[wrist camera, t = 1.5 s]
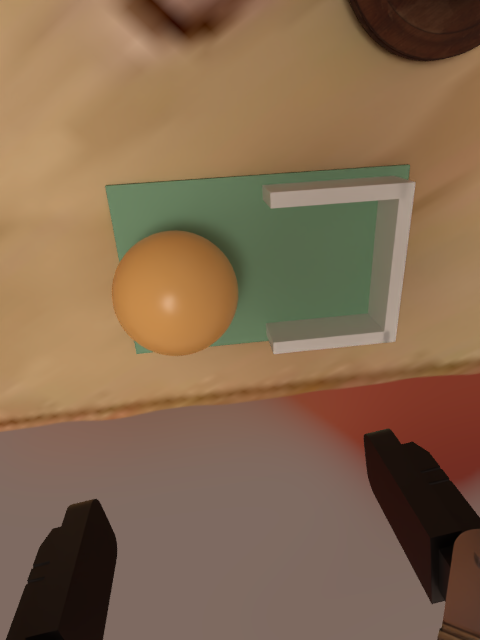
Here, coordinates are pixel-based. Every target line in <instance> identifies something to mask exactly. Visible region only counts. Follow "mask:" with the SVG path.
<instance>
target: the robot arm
mask: <svg viewBox="0 0 480 640" xmlns="http://www.w3.org/2000/svg"><path fill="white" fill-rule="evenodd" d="M364 447H365V457H366V466H367V474H368V479H369V482H370V485H371V488H372V491H373V493H374V495H375V497H376V499H377V501H378V503H379V504H380V506H381V508H382V510H383V512H384V514H385V516H386V518H387V519H388V521H389V524H390V525H391V527H392V529H393V531H394V533H395V535H396V537H397V539H398V541H399V543H400V544H401V546H402V548H403V550H404V552H405V554H406V556H407V558H408V559H409V561H410V563H411V565H412V567H413V569H414V571H415V573H416V575H417V577H418V579H419V580H420V582H421V584H422V586H423V588H424V590H425V592H426V594H427V596H428V597H429V599H430V601H431V603H432V604H433V603H438V602H442V601H445V602H446V603H445V610H444V617H443V623H442V628H441V629H440V630H439V634H438V640H480V517H479V516H478V515H477V514H476V512H475V511H474V510H473V509H472V507H471V506H470V505H469V503H468V502H467V501H466V500H465V498H464V497H463V496H462V494H461V493H460V492H459V490H458V489H457V488H456V486H455V485H454V484H453V483H452V482H451V481H450V480H449V477H448V476H447V475H446V474H445V472H444V471H443V470H442V469H440V466H439V465H438V463H437V462H436V461H435V459H434V458H433V457H432V455H430V453H429V452H428V451H426V450H425V449H423V448H422V447H420V446H418V445H417V444H415V443H414V442H410V443H406V444H401V443H400V442H399V440H398V439H397V437H396V436H395V435H394V433H393V432H392V431H391V430H390V429H384V430H380V431H376V432H372V433H368V434H365V435H364ZM116 559H117V542H116V537H115V534H114V532H113V529H112V527H111V525H110V523H109V521H108V519H107V517H106V514H105V512H104V510H103V508H102V506H101V504H100V502H99V501H98V500H97V499H93V500H89V501H85V502H80V503H77V504H72V505H70V506H69V507H68V508H67V511H66V514H65V517H64V520H63V523H62V526H61V527H58V528H54V529H52V531H51V532H50V533H49V535H48V537H46V539H45V540H44V542H43V543H42V544H41V546H40V548H39V550H38V553H37V556H36V559H35V561H34V564H33V569H31V572H30V575H29V578H28V580H27V581H28V584H27V585H26V586H25V589H24V591H23V594H22V597H21V600H20V602H19V605H18V608H17V611H16V613H15V616H14V619H13V621H12V624H11V627H10V630H9V633H8V635H7V638H6V640H103V635H104V629H105V624H106V617H107V611H108V605H109V599H110V594H111V588H112V583H113V577H114V571H115V565H116Z"/></svg>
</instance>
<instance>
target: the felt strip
mask: <svg viewBox="0 0 480 640" xmlns="http://www.w3.org/2000/svg"><path fill="white" fill-rule="evenodd" d="M409 170H410V165H408V164H407V165H392V166H378V167H364V168H349V169H335V170H320V171H306V172H292V173H277V174H263V175H248V176H234V177H220V178H205V179H191V180H176V181H162V182H148V183H133V184H119V185H106V186H105V187H106V193H107V198H108V203H109V209H110V214H111V219H112V225H113V230H114V236H115V241H116V246H117V252H118V257H119V262H120V261H121V260H122V258H123V257H124V255H125V254H126V253H127V252H128V250H129V249H130V248H131V247H132V246H134V245H135V244H136V243H137V242H139V241H140V240H142V239H144V238H146V237H148V236H150V235H152V234H155V233H159V232H163V231H174V230H178V231H186V232H190V233H194V234H197V235H199V236H202V237H204V238H205V239H207V240H209V241H210V242H212V243H213V244H214V245H216V246H217V247H218V248H219V249H220V250H221V251H222V252H223V253H224V254H225V256H226V257H227V258H228V260H229V262H230V263H231V265H232V267H233V270H234V272H235V275H236V279H237V284H238V304H237V309H236V312H235V315H234V318H233V320H232V322H231V324H230V325H229V327H228V329H227V330H226V331H225V333H224V334H223V335H222V336H221V337H220V338H219V339H218V340H217V341H216V342H214V343H213V344H212V345H210V346H220V345H230V344H240V343H250V342H260V341H269V340H268V337H267V334H266V323H274V322H284V321H294V320H305V319H315V318H325V317H336V316H346V315H356V314H367V313H368V305H369V294H370V283H371V272H372V261H373V250H374V239H375V228H376V217H377V206H378V200H377V201H364V202H350V203H337V204H324V205H311V206H298V207H285V208H270V207H269V206H268V205H267V204H266V203H265V202H264V200H263V196H262V185H270V184H284V183H298V182H312V181H326V180H340V179H354V178H368V177H382V176H396V177H400V178H403V179H407V180H408V178H409ZM134 343H135V348H136V354H140V353H150V352H153V351H150V350H148V349H146V348H144V347H143V346H141V345H140V344H138V343H137V342H136V341H134ZM210 346H209V347H210Z"/></svg>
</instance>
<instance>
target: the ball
mask: <svg viewBox="0 0 480 640" xmlns="http://www.w3.org/2000/svg"><path fill="white" fill-rule="evenodd" d="M112 300H113V307H114V310H115V314H116V316H117V318H118V320H119V322H120V324H121V326H122V327H123V329H124V330H125V331H126V333H127V334H128V335H129V336H130V337H131V338H132V339H133V340H134V341H136V342H137V343H138V344H140V345H141V346H143V347H144V348H146V349H148V350H150V351H153V352H155V353H159V354H163V355H170V356H182V355H189V354H193V353H196V352H199V351H201V350H203V349H205V348H207V347H209V346H210V345H212V344H213V343H214V342H216V341H217V340H218V339H219V338H220V337H221V336H222V335H223V334H224V333H225V331H226V330H227V329H228V327H229V325H230V324H231V322H232V320H233V318H234V315H235V312H236V309H237V304H238V284H237V279H236V275H235V272H234V270H233V267H232V265H231V263H230V262H229V260H228V258H227V257H226V256H225V254H224V253H223V252H222V251H221V250H220V249H219V248H218V247H217V246H216V245H214V244H213V243H212V242H210V241H209V240H207V239H205V238H204V237H202V236H199V235H197V234H194V233H190V232H186V231H178V230H174V231H163V232H159V233H155V234H152V235H150V236H148V237H146V238H144V239H142V240H140V241H139V242H137V243H136V244H135V245H134V246H132V247H131V248H130V249H129V250H128V252H127V253H126V254H125V255H124V257H123V258H122V260H121V261H120V263H119V265H118V267H117V269H116V272H115V275H114V279H113V284H112Z"/></svg>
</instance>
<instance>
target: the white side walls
mask: <svg viewBox="0 0 480 640" xmlns="http://www.w3.org/2000/svg"><path fill="white" fill-rule="evenodd" d="M415 183H416V182H414V181H410V180H407V179H403V178H400V177H396V176H382V177H368V178H354V179H340V180H326V181H312V182H298V183H284V184H270V185H262V196H263V200H264V202H265V203H266V204H267V205H268V206H269V207H270V208H285V207H298V206H311V205H324V204H337V203H350V202H364V201H377V200H378V206H377V217H376V228H375V239H374V250H373V261H372V272H371V283H370V294H369V305H368V313H367V314H356V315H346V316H336V317H325V318H315V319H305V320H294V321H284V322H274V323H266V334H267V337H268V340H269V343H270V346H271V348H272V351H273V354H280V353H289V352H299V351H309V350H319V349H328V348H338V347H348V346H358V345H367V344H377V343H387V342H395V341H396V333H397V325H398V317H399V309H400V301H401V293H402V286H403V278H404V270H405V262H406V254H407V246H408V238H409V231H410V223H411V215H412V207H413V199H414V191H415Z"/></svg>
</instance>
